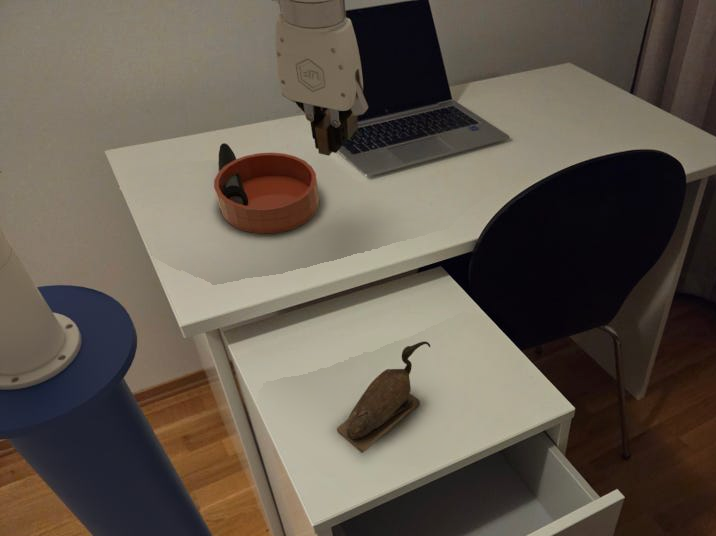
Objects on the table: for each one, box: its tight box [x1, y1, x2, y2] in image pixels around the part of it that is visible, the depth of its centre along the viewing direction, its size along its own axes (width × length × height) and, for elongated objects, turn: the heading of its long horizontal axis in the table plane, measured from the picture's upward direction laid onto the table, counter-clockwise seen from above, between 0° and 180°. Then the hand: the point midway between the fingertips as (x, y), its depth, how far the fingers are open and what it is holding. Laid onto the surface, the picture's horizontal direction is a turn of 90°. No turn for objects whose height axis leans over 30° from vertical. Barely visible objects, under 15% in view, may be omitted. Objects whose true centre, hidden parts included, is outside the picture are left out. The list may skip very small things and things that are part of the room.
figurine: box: [336, 340, 431, 454], centre depth 76 cm, size 14×4×9 cm, turn 141°
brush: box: [315, 108, 359, 157], centre depth 90 cm, size 8×4×4 cm, turn 164°
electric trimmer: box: [218, 142, 248, 206], centre depth 105 cm, size 4×16×3 cm, turn 20°
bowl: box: [213, 152, 320, 234], centre depth 102 cm, size 15×15×4 cm
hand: (330, 145), depth 90 cm, fingers closed on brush
